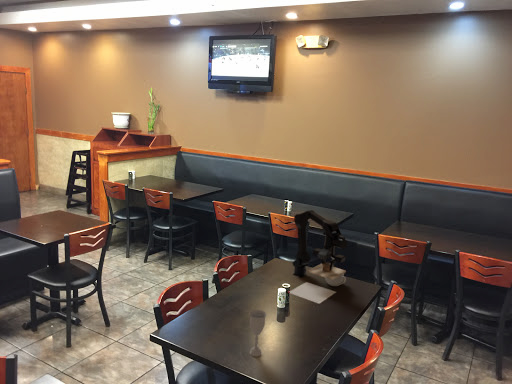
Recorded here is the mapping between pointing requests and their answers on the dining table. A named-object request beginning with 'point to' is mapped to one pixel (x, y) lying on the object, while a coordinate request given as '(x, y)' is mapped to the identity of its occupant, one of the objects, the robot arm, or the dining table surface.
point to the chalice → (256, 328)
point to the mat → (312, 292)
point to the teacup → (336, 280)
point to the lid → (327, 271)
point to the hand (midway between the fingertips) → (327, 269)
